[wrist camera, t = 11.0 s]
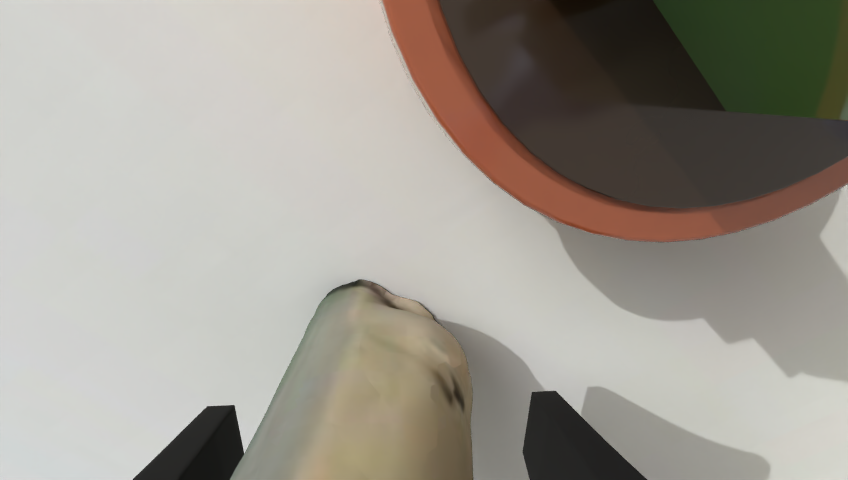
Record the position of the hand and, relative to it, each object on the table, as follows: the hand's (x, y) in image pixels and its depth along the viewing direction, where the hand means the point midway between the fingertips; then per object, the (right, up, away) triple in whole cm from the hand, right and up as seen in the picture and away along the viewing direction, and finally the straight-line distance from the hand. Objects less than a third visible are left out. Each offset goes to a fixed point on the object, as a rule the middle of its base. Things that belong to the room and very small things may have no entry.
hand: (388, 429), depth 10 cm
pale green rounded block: (-1, +1, +4) cm, 4 cm away
